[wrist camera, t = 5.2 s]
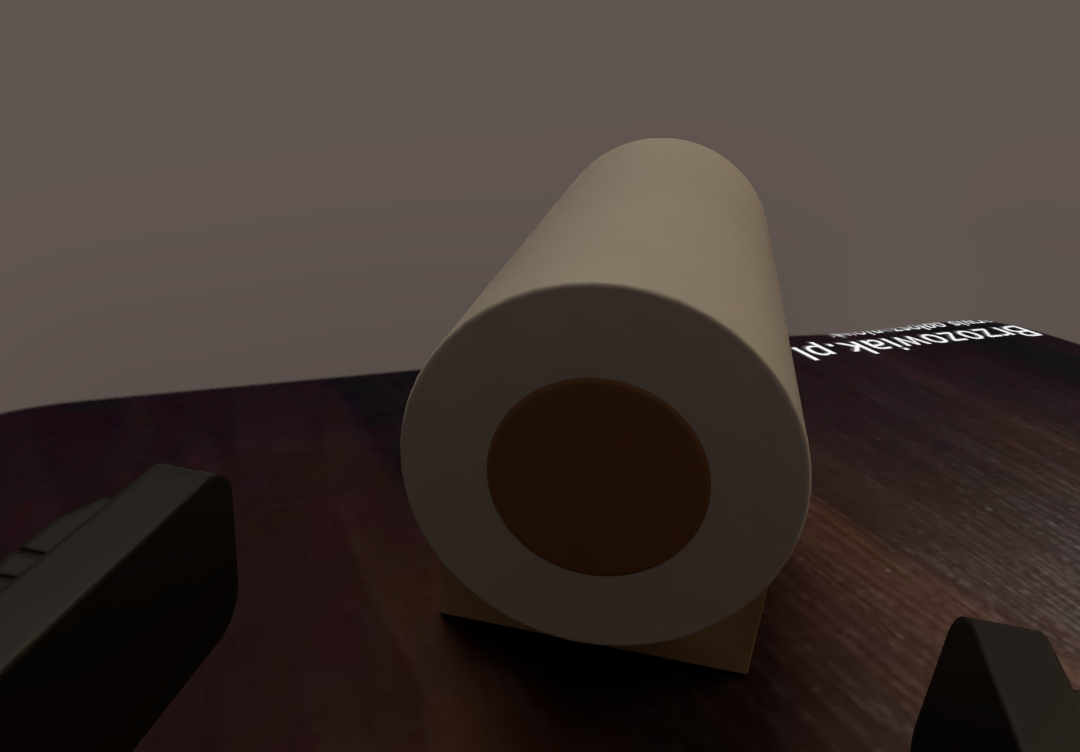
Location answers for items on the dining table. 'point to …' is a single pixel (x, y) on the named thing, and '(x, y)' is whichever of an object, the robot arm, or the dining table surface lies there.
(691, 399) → the paper towel roll
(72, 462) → the dining table surface
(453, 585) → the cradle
